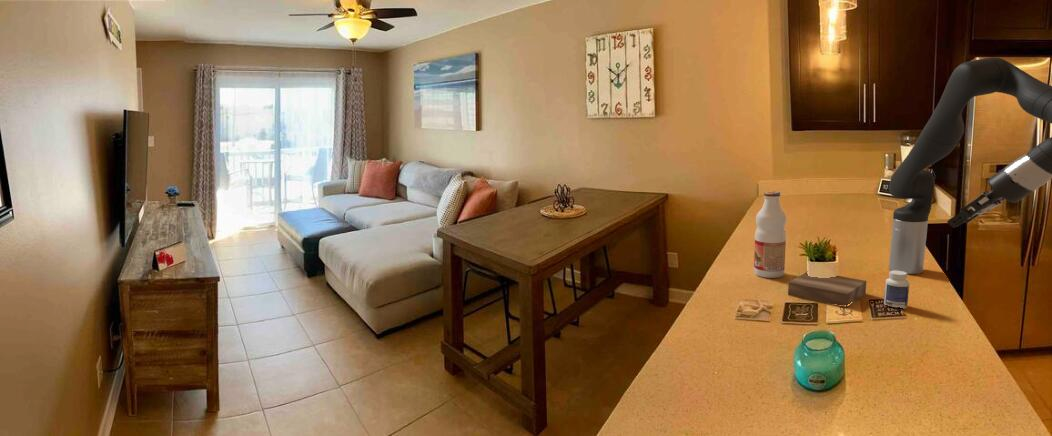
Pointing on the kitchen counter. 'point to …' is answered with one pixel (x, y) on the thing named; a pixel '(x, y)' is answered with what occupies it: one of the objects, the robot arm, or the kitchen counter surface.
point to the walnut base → (827, 289)
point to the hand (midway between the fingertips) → (956, 222)
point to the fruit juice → (770, 238)
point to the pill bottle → (896, 289)
